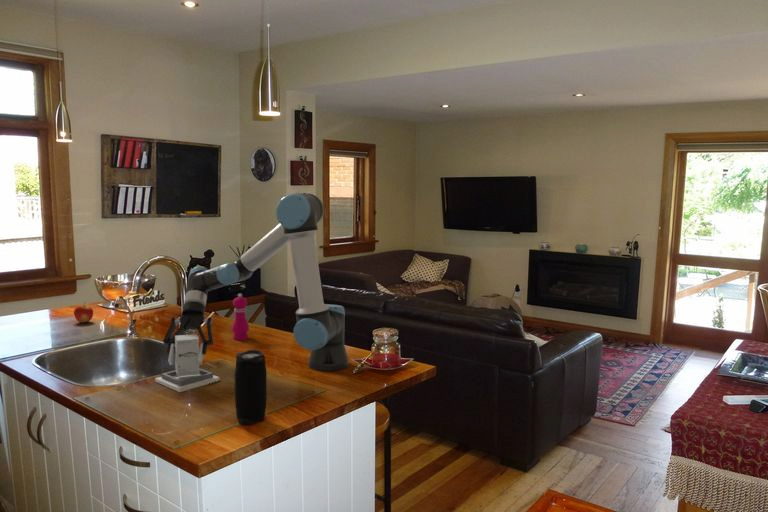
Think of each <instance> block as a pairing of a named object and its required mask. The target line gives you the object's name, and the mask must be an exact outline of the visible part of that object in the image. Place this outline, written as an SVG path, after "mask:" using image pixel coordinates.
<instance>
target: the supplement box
mask: <svg viewBox="0 0 768 512" xmlns="http://www.w3.org/2000/svg"><path fill="white" fill-rule="evenodd" d="M198 335H199V334H198V333H191V334H182V335H176V336H175V344H174V346H175V351H174V357H175V358H174V359H175V361H174V363H175V370H176V374H177V377H180V376H188V375H199V373H200V370H199V368H200V364H199V362H198V357H199V350H200V338H199V336H198Z"/></svg>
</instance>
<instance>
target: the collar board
mask: <svg viewBox="0 0 768 512" xmlns="http://www.w3.org/2000/svg"><path fill="white" fill-rule="evenodd" d="M199 370H200V373H199V375H188V376H180V377H177V374H176V369H175V370H172V371H167V372H163V373H161V376H158V377H155V379H154V380H155V383H157V384H160V385H162V386H165V387H166V388H168V389H169V388H170V389H172V390H173V391H175V392H178V393H182V392H185V391H188V390H192V389H195V388H199V387H202V386H206V385H210V384H212V382H213V383H216V382H219V381H220V376H217V375H214V373H213V372H212V371H208V370H206V369H203V368H200V367H199ZM218 380H219V381H218ZM215 381H216V382H215ZM209 383H210V384H209Z"/></svg>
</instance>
